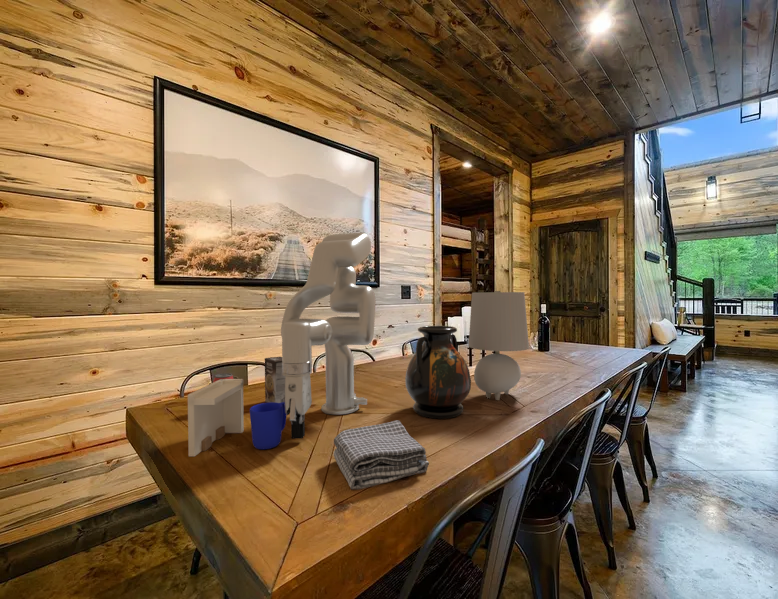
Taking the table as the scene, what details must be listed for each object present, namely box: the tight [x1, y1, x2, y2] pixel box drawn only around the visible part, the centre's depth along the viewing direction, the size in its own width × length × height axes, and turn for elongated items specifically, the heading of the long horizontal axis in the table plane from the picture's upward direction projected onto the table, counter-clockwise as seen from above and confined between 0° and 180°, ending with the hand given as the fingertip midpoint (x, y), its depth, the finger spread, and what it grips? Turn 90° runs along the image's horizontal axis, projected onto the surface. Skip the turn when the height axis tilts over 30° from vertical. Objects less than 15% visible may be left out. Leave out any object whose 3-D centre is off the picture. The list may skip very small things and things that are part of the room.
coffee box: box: [264, 356, 286, 403], centre depth 127 cm, size 9×6×16 cm
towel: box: [333, 420, 430, 490], centre depth 78 cm, size 15×18×8 cm
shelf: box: [187, 378, 245, 457], centre depth 92 cm, size 6×16×15 cm, turn 179°
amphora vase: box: [404, 325, 472, 420], centre depth 116 cm, size 22×22×28 cm
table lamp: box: [468, 290, 530, 401], centre depth 131 cm, size 23×22×40 cm
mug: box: [249, 402, 288, 450], centre depth 92 cm, size 8×12×10 cm
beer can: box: [212, 372, 235, 383], centre depth 120 cm, size 7×7×12 cm
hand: (298, 437), depth 92 cm, fingers closed
